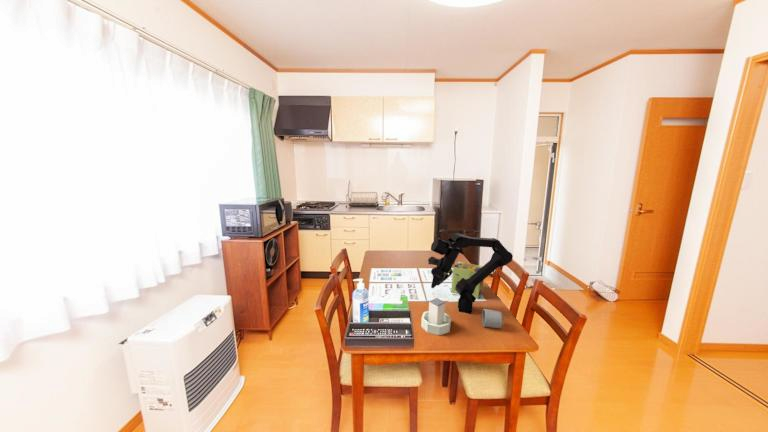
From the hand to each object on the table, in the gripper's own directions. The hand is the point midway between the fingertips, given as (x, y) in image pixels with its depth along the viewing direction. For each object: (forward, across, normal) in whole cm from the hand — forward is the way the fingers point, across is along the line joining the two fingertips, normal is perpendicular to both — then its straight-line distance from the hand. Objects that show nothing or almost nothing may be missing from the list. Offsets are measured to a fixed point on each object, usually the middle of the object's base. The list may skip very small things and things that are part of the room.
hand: (434, 286), depth 129 cm
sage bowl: (+13, +7, +10) cm, 18 cm away
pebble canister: (+12, +7, +9) cm, 17 cm away
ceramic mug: (+3, -6, +29) cm, 30 cm away
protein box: (+1, -32, +12) cm, 34 cm away
